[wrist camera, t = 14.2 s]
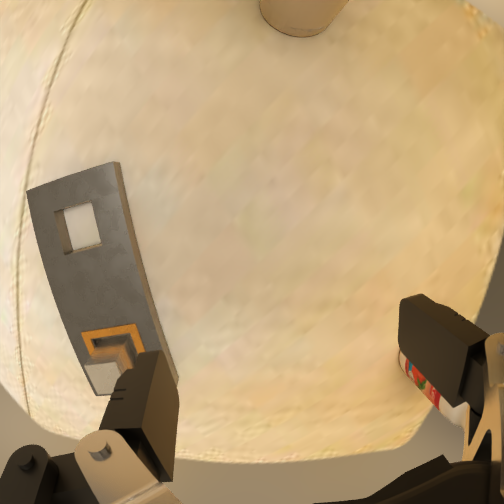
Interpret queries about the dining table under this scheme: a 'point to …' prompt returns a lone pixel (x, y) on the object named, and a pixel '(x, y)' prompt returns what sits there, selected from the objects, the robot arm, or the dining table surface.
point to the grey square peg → (110, 362)
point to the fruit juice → (434, 394)
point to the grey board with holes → (96, 265)
